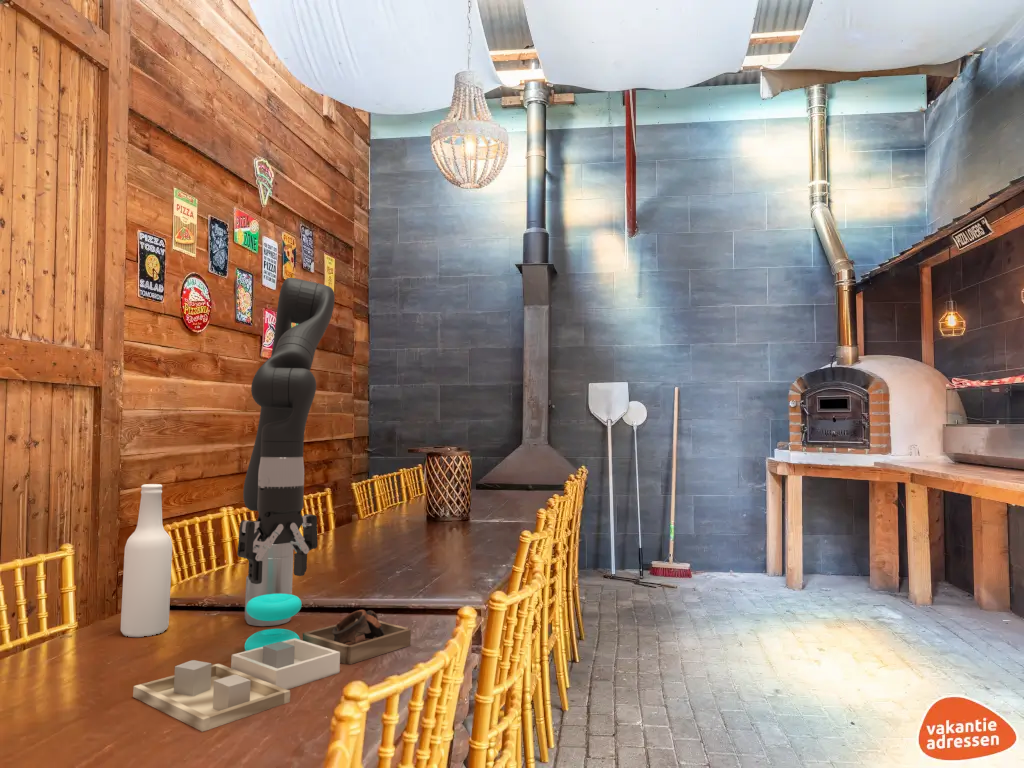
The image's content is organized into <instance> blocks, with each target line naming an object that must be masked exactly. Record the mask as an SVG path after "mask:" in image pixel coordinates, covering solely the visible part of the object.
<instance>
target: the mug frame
mask: <svg viewBox="0 0 1024 768" xmlns="http://www.w3.org/2000/svg"><path fill="white" fill-rule="evenodd" d="M357 620H358V619H356V621H357ZM356 621H354V622H352V623H350V624H349V625H348V626H346V627H345V628H344V629H346V628H348V627H349V626H351V625H352V624H354V623H355V622H356ZM378 621H379V623H380V624H381V627H382V629H383V631H384V632H383V633H384V636H381V637H377V638H376V636H375V637H374V638H373V639H366V640H365V641H360V642H357V643H352V644H351V645H349V644H347V643H345V644H342V643H339V642H336V641H334V637H335V636H334V635H333V633H332V630H333V629H334V628H335V627H336V628H337V630H338V627H337V626H336V625H337V623H336V624H333V625H329V626H326V627H322V628H317V629H314V630H310V631H305V632H302V641H306V642H309V643H312V644H315V645H319V646H322V647H325V648H328V649H332V650H335V651H338V652H340V663H341V664H344V665H345V664H348V665H353V664H357V663H359V662H362V661H365V660H368V659H372V658H375V657H378V656H381V655H383V654H384V655H385V654H387V653H390V652H393V651H397V650H400V649H405V648H406V647H410V646H411V645H412V643H411V639H412V638H411V637H412V636H411V634H412V633H411V632H412V630H411V629H410V628H409V627H405V626H402V625H398V624H393V623H390V622H386V621H383V620H378ZM344 629H343V630H344ZM361 635H364V633H358V632H356V635H355V637H358V636H361Z"/></svg>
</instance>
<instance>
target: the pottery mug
mask: <svg viewBox="0 0 1024 768" xmlns="http://www.w3.org/2000/svg"><path fill="white" fill-rule="evenodd" d="M356 619H358V620H357V621H356ZM354 621H356V622H355V623H354V624H352V625H351V626H349V627H348V628H346V629H344V628H345V627H346V626H348V625H349V624H350V623H352V622H354ZM379 621H380V620H379V619H378V615H377V613H376V612H375V611H373V610H367V611H366V610H365V609H359V610H358V609H357V610H355V611H353V612H351V613H349V614H348V615H346V616H345V617H343V618H342V619H341V620H339V621H338V622H337V623H336V624H337V625H336V624H335V625H336V626H337V627H338V630H337V628H336V627H335V628H334V629H333V630H332V633H333V635H334V636H335V637H334V641H336V642H339V643H342V644H347V643H351V644H357V643H356V636H355V635H356V632H358V633H364V634H363V636H364V638H365V639H366V640H370V639H374V638H377V637H381V636H384V633H383V632H384V631H383V629H382V627H381V624H380V623H379ZM343 629H344V630H343ZM375 636H376V637H375Z"/></svg>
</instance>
